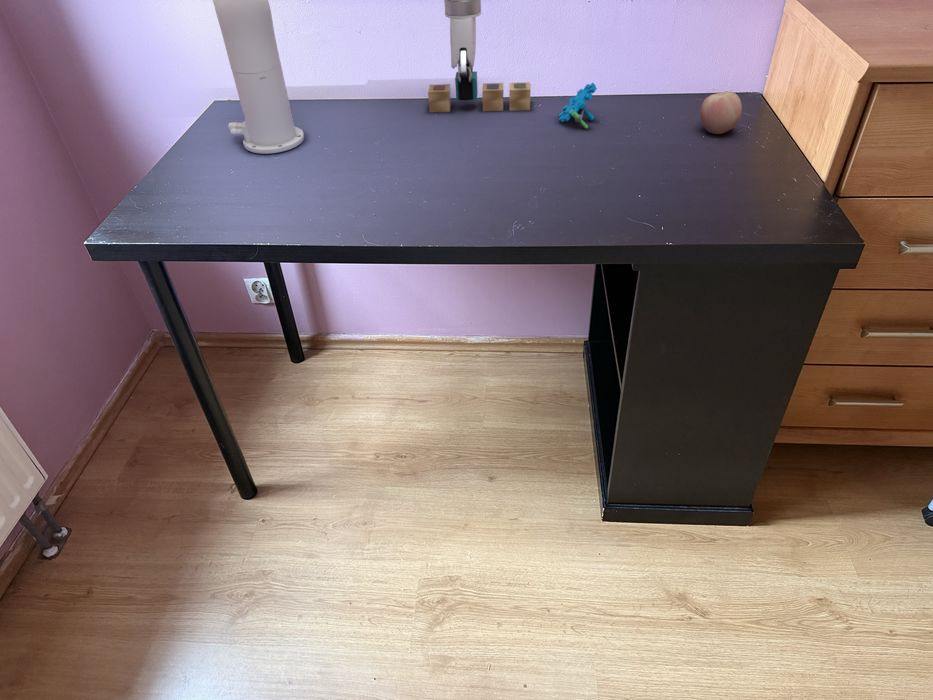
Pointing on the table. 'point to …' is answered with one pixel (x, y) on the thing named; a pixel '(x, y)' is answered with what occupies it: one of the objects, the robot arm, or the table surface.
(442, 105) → the beech block
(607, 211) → the table surface
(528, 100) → the beech block
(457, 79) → the teal block
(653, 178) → the table surface
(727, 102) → the apple
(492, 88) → the beech block
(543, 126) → the table surface
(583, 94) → the blue flower
